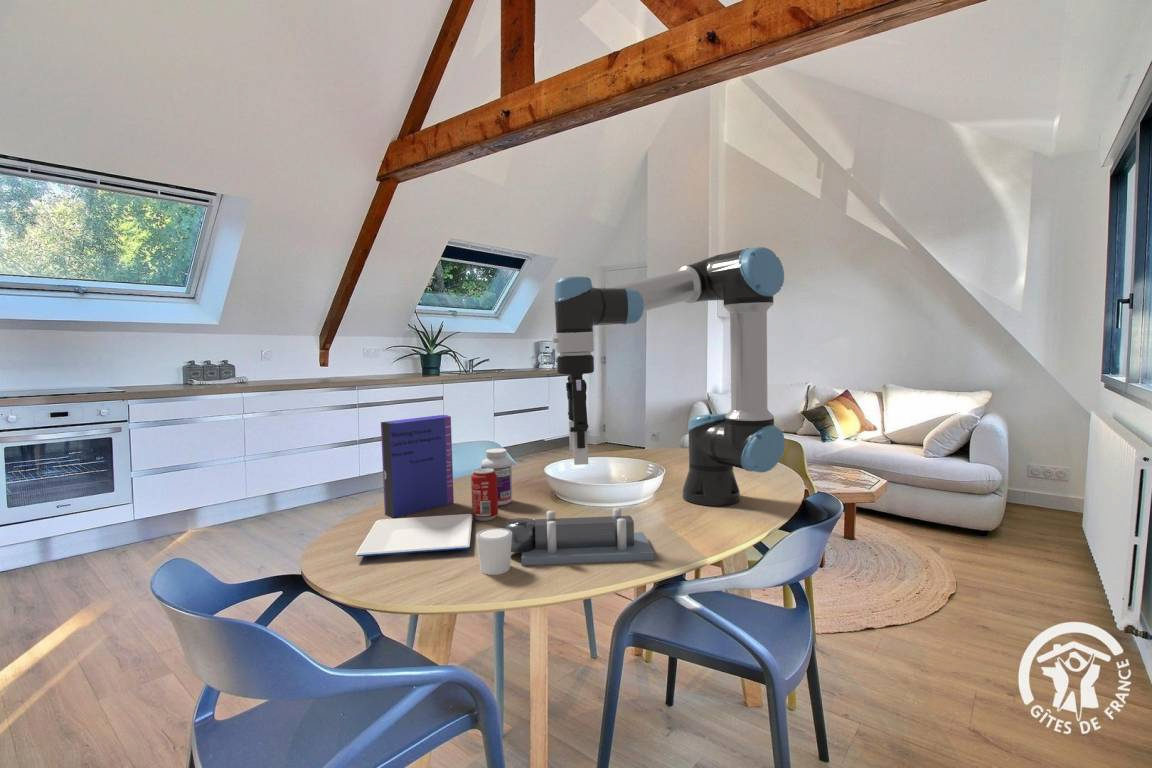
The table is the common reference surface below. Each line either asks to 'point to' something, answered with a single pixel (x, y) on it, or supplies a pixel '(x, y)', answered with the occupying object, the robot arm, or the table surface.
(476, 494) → the beverage can
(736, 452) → the robot arm
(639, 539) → the peg rack
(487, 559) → the white cup
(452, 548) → the plate
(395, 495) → the blue book
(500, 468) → the pill bottle
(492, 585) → the table surface
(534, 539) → the dark grey bar
